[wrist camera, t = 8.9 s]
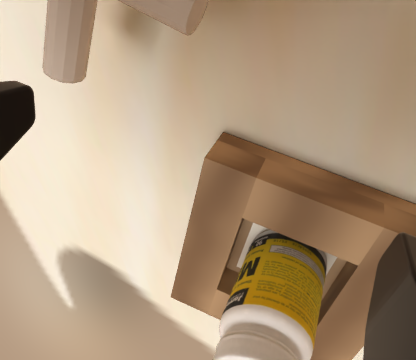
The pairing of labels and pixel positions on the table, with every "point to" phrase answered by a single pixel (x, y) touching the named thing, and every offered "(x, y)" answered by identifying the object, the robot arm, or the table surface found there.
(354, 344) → the holder
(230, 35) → the table surface
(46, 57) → the pipe connector
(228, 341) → the supplement bottle
